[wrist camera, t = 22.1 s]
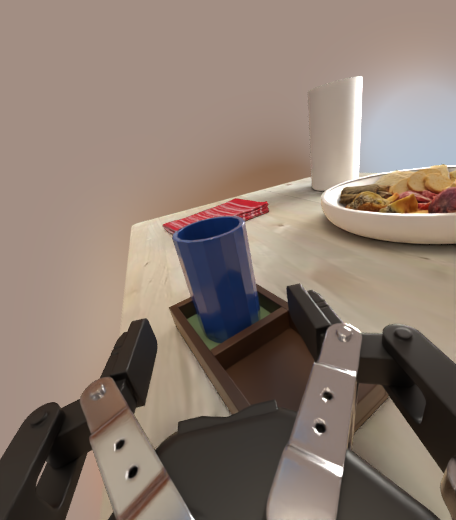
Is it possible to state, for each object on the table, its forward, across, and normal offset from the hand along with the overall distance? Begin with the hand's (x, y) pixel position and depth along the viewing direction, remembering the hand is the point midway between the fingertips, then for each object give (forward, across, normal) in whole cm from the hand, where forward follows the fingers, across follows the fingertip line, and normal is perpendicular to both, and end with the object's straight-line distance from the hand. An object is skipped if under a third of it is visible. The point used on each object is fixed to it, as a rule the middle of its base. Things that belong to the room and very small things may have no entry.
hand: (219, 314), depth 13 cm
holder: (+4, -2, +8) cm, 9 cm away
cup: (+8, 0, +7) cm, 11 cm away
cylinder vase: (+58, -38, +8) cm, 70 cm away
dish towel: (+49, -1, +8) cm, 50 cm away
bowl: (+25, -34, +8) cm, 43 cm away
